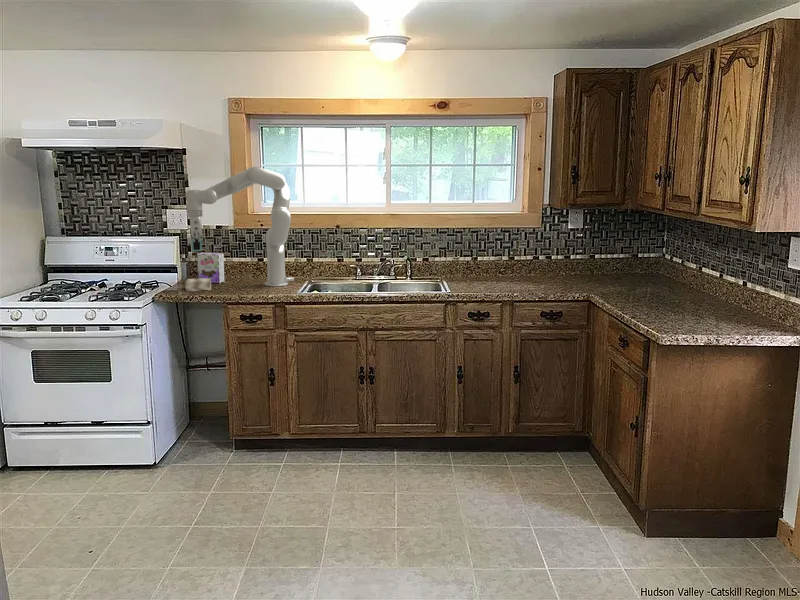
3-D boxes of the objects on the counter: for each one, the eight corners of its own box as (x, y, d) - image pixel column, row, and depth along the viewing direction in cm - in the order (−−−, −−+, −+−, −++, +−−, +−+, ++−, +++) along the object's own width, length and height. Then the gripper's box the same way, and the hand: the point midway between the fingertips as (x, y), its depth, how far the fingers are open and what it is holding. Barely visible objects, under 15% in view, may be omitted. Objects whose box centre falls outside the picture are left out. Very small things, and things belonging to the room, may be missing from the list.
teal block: (201, 249, 344) (200, 238, 342) (202, 250, 339) (201, 239, 338) (191, 250, 342) (190, 238, 341) (191, 251, 337) (191, 239, 336)
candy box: (197, 282, 365) (196, 253, 362) (203, 281, 370) (202, 252, 367) (219, 283, 361) (218, 254, 358) (225, 282, 366) (223, 253, 363)
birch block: (211, 287, 351) (210, 278, 350) (210, 291, 340) (209, 281, 339) (187, 288, 349) (187, 278, 348) (186, 291, 337) (185, 282, 336)
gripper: (203, 214, 330) (205, 250, 334) (201, 213, 346) (203, 247, 349) (188, 215, 328) (189, 251, 331) (186, 213, 343) (188, 247, 347)
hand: (196, 248), depth 340 cm, fingers closed on teal block, 5 cm apart
